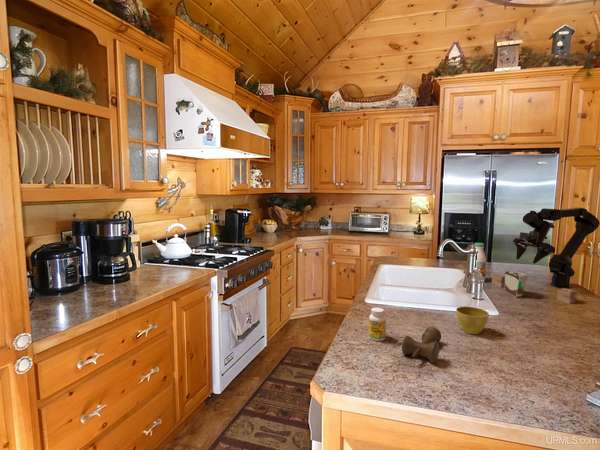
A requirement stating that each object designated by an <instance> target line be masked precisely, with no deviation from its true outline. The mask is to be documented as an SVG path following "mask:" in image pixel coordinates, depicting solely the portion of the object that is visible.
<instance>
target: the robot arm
mask: <svg viewBox="0 0 600 450" xmlns="http://www.w3.org/2000/svg"><path fill="white" fill-rule="evenodd" d="M571 217H573V221H574V222H575V225H574V226H575V231H574V232H573V234H572V235H571V237H570V238H569V240H568V241H567V242H566V245H565V246H564V247H563V249H562V250H561V252H560V253H558V254H555V252H556V247H555V246H553V245H551V244H550V243H548V242H545V240H548V236H547V235H548V233H549V231H550V229H555V226H554V223H553V222H556V221H559V220H561V219H563V218H571ZM549 221H551V222H549ZM522 222H523V223H524V224H526V225H527V226H529V227H531V228H532V229H533V230H530V231H529V233H528V232H521V231H520V233H519V237H515V238H514V239H513V240H512V243H513V244H514V245H515V247H516V255H515V256H516V258H515V259H517V260H519V259H521V257H523V255H524V254H525V252H526V251H527V248H528V247H532V248H535V249H537V250H536V254H535V256H534V258H533V259H532V260H533V261H532V264H536V263H538V262H540V261H541V260H542V259H544V258H546V257H548V256H551V254H553V255H552V257H551V258H550V259H549V262H548V268H549V272H550V273H552V276H551V282H549V284H550V285H551V286H553V287H555V288H558V289H562V288H566V289H572V287H571V286H570V284H571V283H570V282H571V281H570V280H571V277H574V275H575V274H576V272H575V270H574V269H573V266H572V265H573V261H572V259H573V257H574V256H575V254H576V253H577V252H578V250H579V248H580V246H581V245H582V244H583V242H584V240H585V239H586V238H587V236H588V235H591V234H592V233H594V232H595V231H596V230H597V229H598V228H599V226H600V220H599V219H598V218H597V217H596V215H594V214H593V213H591V212H590V211H588V210H587V208H585V207H572V208H562V209H559V208H546V207H543V208H541V210H539V211H538V212H537V211H535V210H529V212H528V213H526V214H524V215H523V217H522Z"/></svg>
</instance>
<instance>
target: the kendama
mask: <svg viewBox="0 0 600 450" xmlns="http://www.w3.org/2000/svg"><path fill="white" fill-rule="evenodd" d="M441 339H442V332H441V331H440V330H439V329H438V328H437V327H434V326H429V327H427V328H426V329H424V332H423V333H422V335H421V342H419V341H417V340H415V339H413V338H412V337H411V336H410V335H405V336H404V338H403V339H402V344H401V351H402V354H403V355H404V356H408V355H412V358H414V357H416V356H417V355H421V356H423V357H425V358H426V359H427V360H428V361H429V362H431V363H432V364H436V363H437V362H438V358H439V354H440V345H439V342H440V341H441Z"/></svg>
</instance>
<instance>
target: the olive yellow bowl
mask: <svg viewBox="0 0 600 450" xmlns="http://www.w3.org/2000/svg"><path fill="white" fill-rule="evenodd" d="M455 312H456V317H457V320H458V323H459V325H460V328H461V329H462V331H463V332H464V333H467V334H470V335H478V334H480V333H481V331H483V329H484V327H486V324H487V322H488V319H489V317H490V313H489V312H488V311H487V310H485V309H482V308H479V307H475V306H459V307H457V308H456V309H455Z"/></svg>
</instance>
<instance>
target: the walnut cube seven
mask: <svg viewBox="0 0 600 450" xmlns="http://www.w3.org/2000/svg"><path fill="white" fill-rule="evenodd" d="M577 295H578V291H577V290H572V289H571V288H558V289H557V294H556V301H558V302H561V303H565V304H569V305H570V304H575V303H577Z"/></svg>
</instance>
